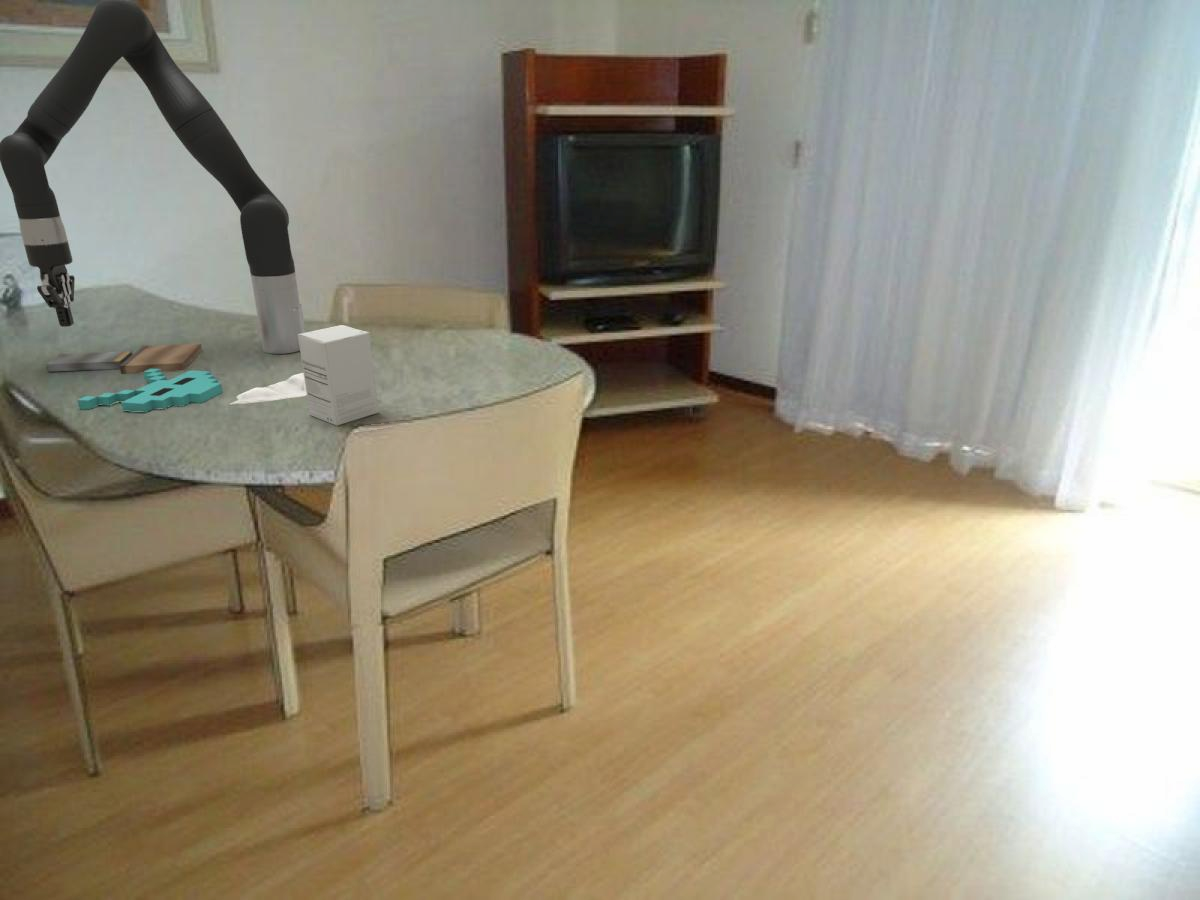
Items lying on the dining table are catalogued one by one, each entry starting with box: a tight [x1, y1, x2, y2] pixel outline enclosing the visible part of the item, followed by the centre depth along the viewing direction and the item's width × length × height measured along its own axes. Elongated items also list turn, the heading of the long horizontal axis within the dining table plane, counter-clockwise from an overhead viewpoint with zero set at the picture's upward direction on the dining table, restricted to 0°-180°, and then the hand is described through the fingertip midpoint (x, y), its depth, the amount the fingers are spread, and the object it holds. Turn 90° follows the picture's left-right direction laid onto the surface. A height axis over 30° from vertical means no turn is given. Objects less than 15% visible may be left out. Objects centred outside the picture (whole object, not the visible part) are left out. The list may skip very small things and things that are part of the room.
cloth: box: [228, 372, 307, 406], centre depth 161 cm, size 26×14×2 cm, turn 137°
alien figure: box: [77, 369, 223, 412], centre depth 157 cm, size 20×2×20 cm
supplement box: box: [298, 324, 380, 427], centre depth 145 cm, size 9×9×15 cm
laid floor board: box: [119, 343, 203, 375], centre depth 178 cm, size 12×16×2 cm
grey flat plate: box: [45, 350, 134, 373], centre depth 175 cm, size 14×8×2 cm, turn 101°
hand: (67, 325), depth 172 cm, fingers closed
